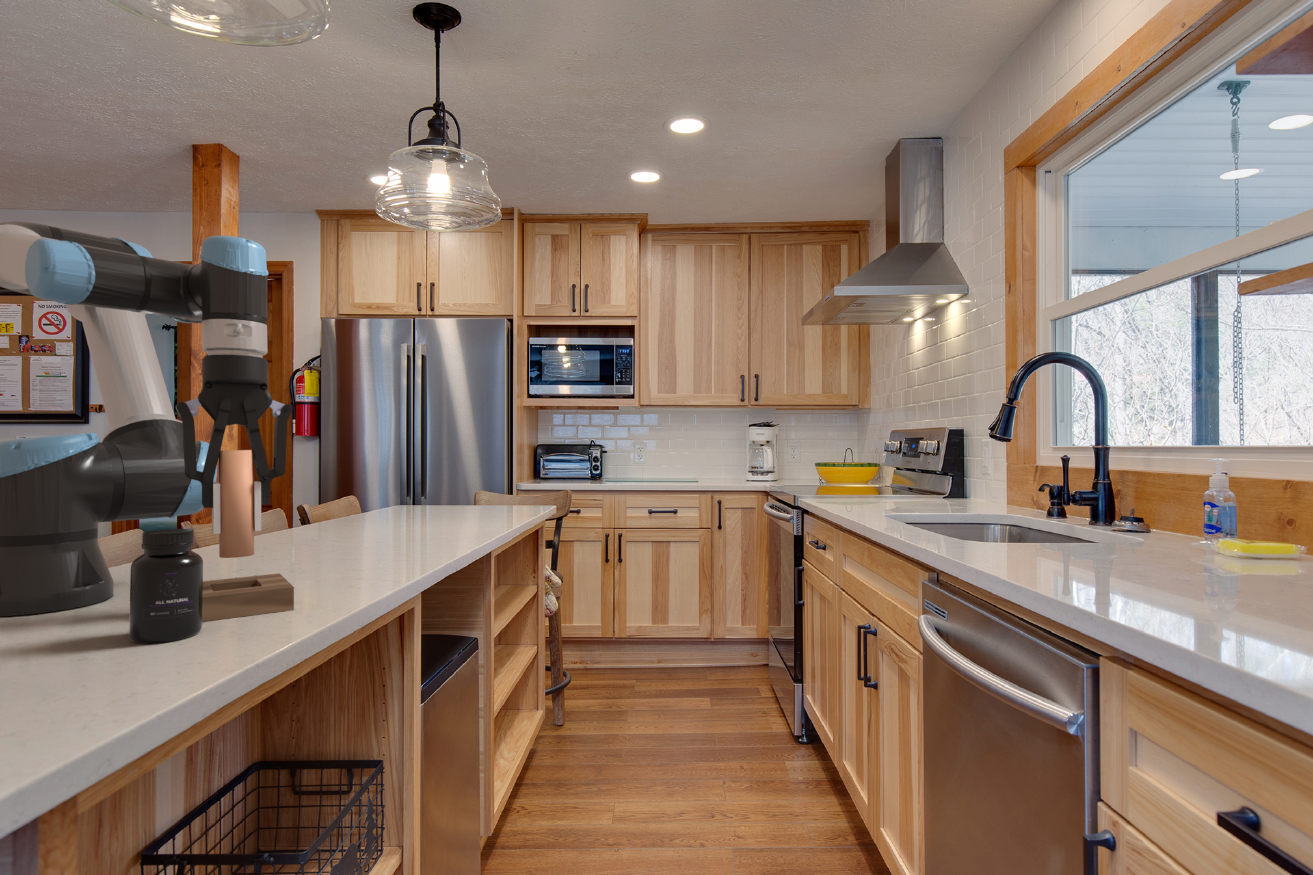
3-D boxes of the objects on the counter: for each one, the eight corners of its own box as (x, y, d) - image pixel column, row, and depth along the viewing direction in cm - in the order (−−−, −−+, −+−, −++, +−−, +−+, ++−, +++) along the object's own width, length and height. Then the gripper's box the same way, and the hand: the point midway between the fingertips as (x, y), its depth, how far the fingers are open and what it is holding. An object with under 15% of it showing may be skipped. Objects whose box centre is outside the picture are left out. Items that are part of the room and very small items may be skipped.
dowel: (220, 558, 90) (219, 450, 90) (218, 555, 94) (217, 450, 94) (256, 555, 93) (255, 449, 93) (252, 552, 96) (251, 450, 96)
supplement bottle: (165, 646, 76) (165, 535, 76) (113, 643, 77) (113, 534, 77) (217, 629, 82) (217, 527, 82) (168, 626, 84) (168, 526, 84)
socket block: (179, 605, 95) (179, 583, 95) (279, 593, 102) (279, 573, 102) (183, 624, 85) (183, 599, 85) (293, 609, 92) (293, 586, 92)
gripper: (157, 348, 85) (158, 539, 85) (311, 356, 95) (312, 528, 95) (156, 355, 91) (157, 534, 91) (301, 362, 102) (302, 524, 101)
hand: (236, 530), depth 93 cm, fingers closed on dowel, 4 cm apart
